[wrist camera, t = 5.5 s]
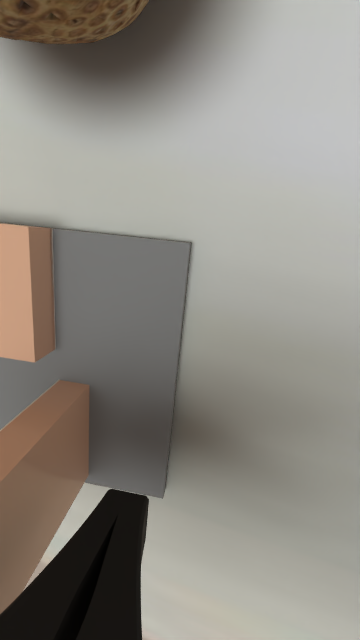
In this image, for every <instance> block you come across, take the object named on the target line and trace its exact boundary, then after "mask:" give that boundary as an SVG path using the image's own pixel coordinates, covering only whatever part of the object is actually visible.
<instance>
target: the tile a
mask: <svg viewBox="0 0 360 640" xmlns="http://www.w3.org/2000/svg"><path fill="white" fill-rule="evenodd" d="M55 349H56V336H55V298H54V259H53V228H44V227H35V226H25V225H16V224H7V223H0V357H3V358H10V359H16V360H22V361H28V362H37V361H38V360H40V359H41V358H43V357H44V356H46V355H47V354H49V353H50V352H52V351H53V350H55Z"/></svg>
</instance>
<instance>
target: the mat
mask: <svg viewBox="0 0 360 640" xmlns="http://www.w3.org/2000/svg"><path fill="white" fill-rule="evenodd" d="M7 224H9V223H7ZM16 225H18V224H16ZM25 226H28V225H25ZM35 227H37V226H35ZM44 228H47V227H44ZM190 252H191V243H189V242H179V241H170V240H160V239H151V238H141V237H132V236H122V235H113V234H103V233H94V232H85V231H75V230H66V229H56V228H53V259H54V298H55V336H56V349H55V350H53V351H52V352H50V353H49V354H47V355H46V356H44V357H43V358H41V359H40V360H38V361H37V362H28V361H22V360H16V359H10V358H3V357H0V430H1V429H2V428H3V427H4V426H5V425H7V424H8V423H9V422H10V421H11V420H12V419H14V418H15V417H16V416H17V415H18V414H19V413H21V412H22V411H23V410H24V409H25V408H26V407H28V406H29V405H30V404H31V403H32V402H33V401H35V400H36V399H37V398H38V397H39V396H40V395H42V394H43V393H44V392H45V391H46V390H47V389H49V388H50V387H51V386H52V385H53V384H54V383H56V382H57V381H58V380H63V381H69V382H75V383H81V384H87V385H89V475H88V477H87V479H86V480H85V483H90V484H95V485H100V486H105V487H110V488H115V489H120V490H124V491H129V492H134V493H139V494H144V495H149V496H154V497H159V498H163V496H164V492H165V485H166V476H167V467H168V457H169V448H170V439H171V429H172V420H173V411H174V401H175V392H176V383H177V373H178V364H179V354H180V345H181V336H182V326H183V317H184V308H185V298H186V289H187V280H188V270H189V261H190Z"/></svg>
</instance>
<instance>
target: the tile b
mask: <svg viewBox="0 0 360 640" xmlns="http://www.w3.org/2000/svg"><path fill="white" fill-rule="evenodd" d="M88 475H89V385H87V384H81V383H75V382H69V381H63V380H58V381H57V382H56V383H54V384H53V385H52V386H51V387H50V388H49V389H47V390H46V391H45V392H44V393H43V394H42V395H40V396H39V397H38V398H37V399H36V400H35V401H33V402H32V403H31V404H30V405H29V406H28V407H26V408H25V409H24V410H23V411H22V412H21V413H19V414H18V415H17V416H16V417H15V418H14V419H12V420H11V421H10V422H9V423H8V424H7V425H5V426H4V427H3V428H2V429H1V430H0V614H1V613H2V612H3V611H4V610H5V609H6V608H7V607H8V606H9V605H10V604H11V603H12V602H13V601H14V600H15V599H16V598H17V597H18V596H19V595H20V594H21V593H22V592H23V590H24V588H25V586H26V584H27V583H28V581H29V579H30V577H31V576H32V574H33V572H34V570H35V569H36V567H37V565H38V563H39V562H40V560H41V558H42V556H43V555H44V553H45V551H46V549H47V547H48V546H49V544H50V542H51V540H52V539H53V537H54V535H55V533H56V532H57V530H58V528H59V526H60V525H61V523H62V521H63V519H64V517H65V516H66V514H67V512H68V510H69V509H70V507H71V505H72V503H73V502H74V500H75V498H76V496H77V495H78V493H79V491H80V489H81V487H82V486H83V484H84V482H85V480H86V479H87V477H88Z"/></svg>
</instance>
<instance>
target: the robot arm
mask: <svg viewBox="0 0 360 640" xmlns="http://www.w3.org/2000/svg"><path fill="white" fill-rule="evenodd" d="M148 504H149V499H148V498H147V496H144V495H139V494H134V493H129V492H124V491H119V490H115V489H110V490H108V491H107V493H106V494H105V496H104V497H103V498H102V500H101V501H100V503H99V504H98V505H97V507H96V508H95V509H94V511H93V512H92V513H91V514H90V516H89V517H88V518H87V520H86V521H85V522H84V523H83V525H82V526H81V527H80V528H79V530H78V531H77V532H76V533H75V534H74V535H73V537H72V538H71V539H70V540H69V541H68V543H67V544H66V545H65V546H64V547H63V548H62V550H61V551H60V552H59V553H58V554H57V555H56V557H55V558H54V559H53V560H52V561H51V562H50V563H49V564H48V565H47V566H46V567H45V569H44V570H43V571H42V572H41V573H40V574H39V575H38V576H37V577H36V578H35V579H34V581H33V582H32V583H31V584H30V585H29V586H28V587H27V588H26V589H25V590H24V591H23V592H22V593H21V594H20V595H19V596H18V597H17V598H16V599H15V600H14V601H13V602H12V603H11V604H10V605H9V606H8V607H7V608H6V609H5V610H4V611H3V612H2V613H1V614H0V640H142V628H141V561H142V554H143V549H144V544H145V538H146V527H147V516H148Z"/></svg>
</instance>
